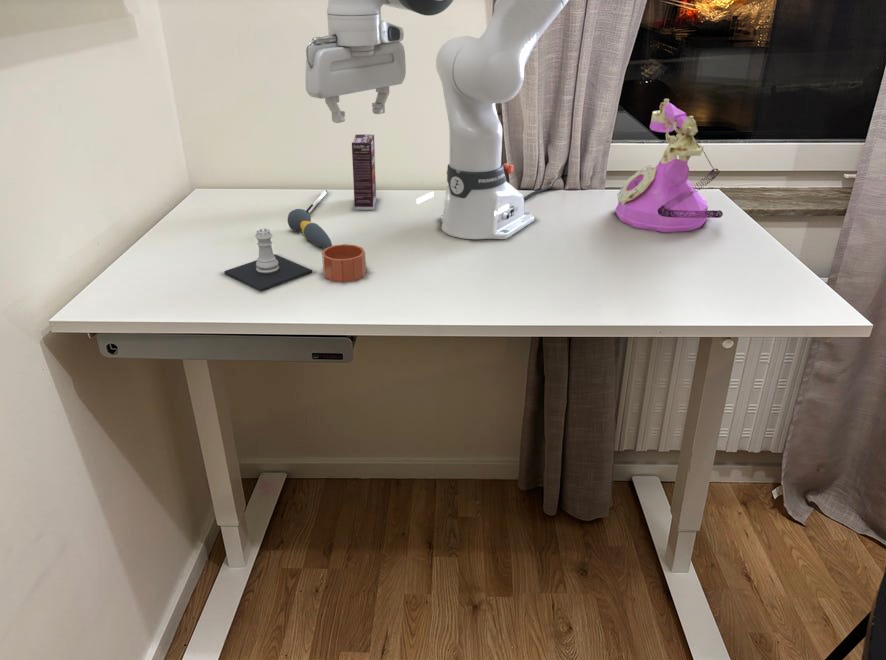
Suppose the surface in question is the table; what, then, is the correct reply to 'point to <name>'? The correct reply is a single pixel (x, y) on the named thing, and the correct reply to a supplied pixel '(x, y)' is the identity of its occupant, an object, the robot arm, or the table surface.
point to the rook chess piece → (265, 253)
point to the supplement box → (364, 172)
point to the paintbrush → (308, 228)
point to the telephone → (667, 181)
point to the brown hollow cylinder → (344, 263)
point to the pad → (266, 281)
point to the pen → (316, 202)
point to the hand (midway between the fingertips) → (359, 117)
